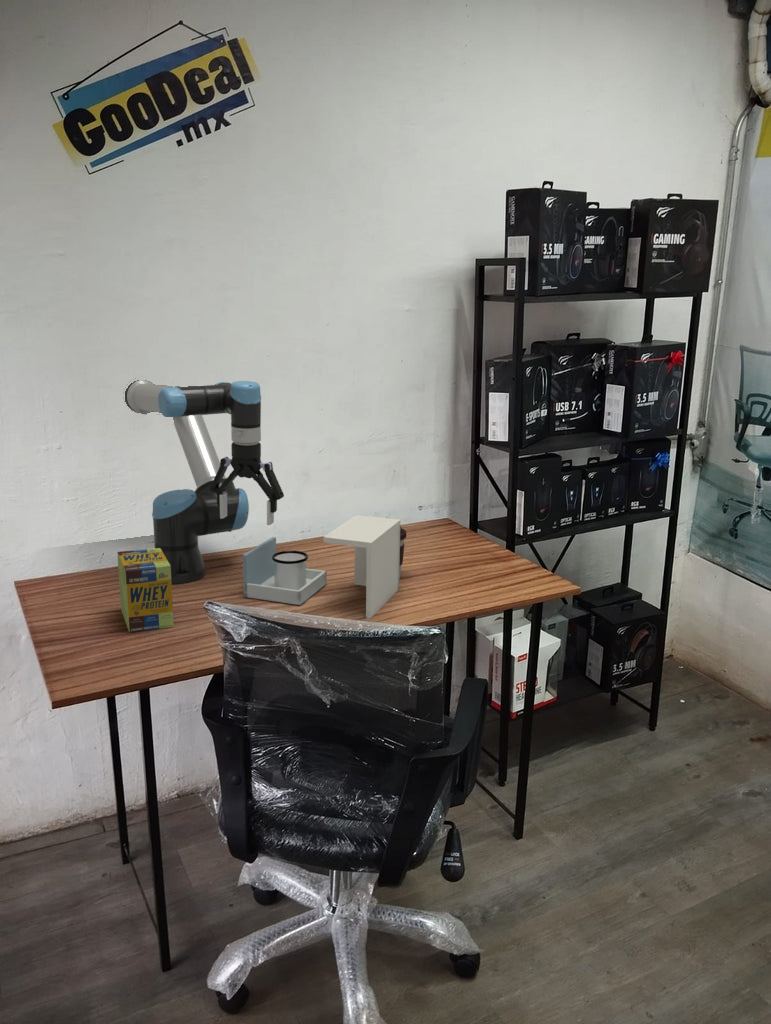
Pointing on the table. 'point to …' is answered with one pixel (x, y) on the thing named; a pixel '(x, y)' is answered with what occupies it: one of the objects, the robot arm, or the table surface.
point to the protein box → (145, 589)
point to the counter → (372, 556)
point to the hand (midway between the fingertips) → (246, 520)
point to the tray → (262, 577)
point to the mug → (290, 569)
